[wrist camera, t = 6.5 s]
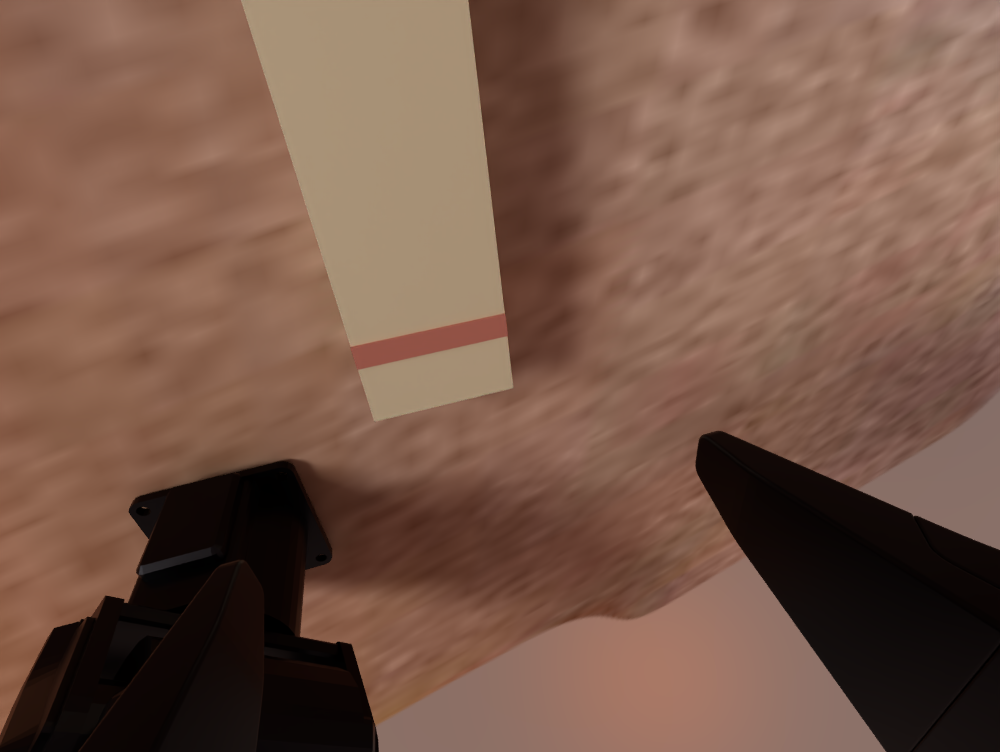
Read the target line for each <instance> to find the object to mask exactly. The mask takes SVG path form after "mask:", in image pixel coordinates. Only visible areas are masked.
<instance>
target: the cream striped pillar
mask: <svg viewBox="0 0 1000 752" xmlns="http://www.w3.org/2000/svg"><path fill="white" fill-rule="evenodd" d="M241 2H242V5H243V8H244V11H245V14H246V17H247V21H248V24H249V27H250V30H251V33H252V36H253V40H254V43H255V46H256V49H257V52H258V55H259V59H260V62H261V65H262V68H263V71H264V74H265V77H266V81H267V84H268V87H269V90H270V93H271V96H272V100H273V103H274V106H275V109H276V112H277V115H278V119H279V122H280V125H281V128H282V131H283V134H284V138H285V141H286V144H287V147H288V150H289V153H290V156H291V160H292V163H293V166H294V169H295V172H296V175H297V179H298V182H299V185H300V188H301V191H302V194H303V198H304V201H305V204H306V207H307V210H308V213H309V217H310V220H311V223H312V226H313V229H314V232H315V235H316V239H317V242H318V245H319V248H320V251H321V254H322V258H323V261H324V264H325V267H326V270H327V273H328V277H329V280H330V283H331V286H332V289H333V292H334V296H335V299H336V302H337V305H338V308H339V311H340V315H341V318H342V321H343V324H344V327H345V330H346V333H347V337H348V340H349V343H350V346H351V351H352V354H353V357H354V360H355V363H356V366H357V370H358V371H359V375H360V378H361V381H362V384H363V387H364V390H365V394H366V397H367V400H368V403H369V406H370V409H371V412H372V416H373V419H374V422H376V421H380V420H384V419H388V418H392V417H396V416H400V415H405V414H409V413H413V412H417V411H421V410H425V409H429V408H433V407H438V406H442V405H446V404H450V403H454V402H458V401H462V400H466V399H471V398H475V397H479V396H483V395H487V394H491V393H495V392H499V391H503V390H508V389H512V388H513V381H512V372H511V363H510V355H509V346H508V338H507V336H508V332H507V323H506V315H505V312H504V303H503V295H502V286H501V277H500V269H499V260H498V252H497V243H496V234H495V226H494V217H493V209H492V200H491V191H490V183H489V174H488V166H487V157H486V148H485V140H484V131H483V123H482V114H481V105H480V97H479V88H478V80H477V71H476V62H475V54H474V45H473V37H472V28H471V19H470V11H469V2H468V0H241Z"/></svg>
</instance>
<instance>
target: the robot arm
mask: <svg viewBox="0 0 1000 752" xmlns="http://www.w3.org/2000/svg"><path fill="white" fill-rule="evenodd" d="M696 471H697V474H698V476H699V478H700V479H701V481H702V483H703V485H704V487H705V488H706V490H707V492H708V494H709V495H710V497H711V499H712V501H713V502H714V504H715V506H716V508H717V509H718V511H719V513H720V515H721V517H722V518H723V520H724V522H725V524H726V525H727V527H728V529H729V530H730V532H731V534H732V535H733V537H734V539H735V540H736V542H737V543H738V545H739V546H740V547H741V549H742V550H743V552H744V553H745V555H746V556H747V557H748V559H749V560H750V562H751V563H752V564H753V566H754V567H755V569H756V570H757V571H758V573H759V574H760V576H761V577H762V578H763V580H764V581H765V583H766V584H767V585H768V587H769V588H770V590H771V591H772V592H773V594H774V595H775V596H776V598H777V599H778V601H779V602H780V604H781V605H782V606H783V608H784V609H785V611H786V612H787V613H788V614H789V616H790V618H791V619H792V620H793V622H794V623H795V624H796V626H797V627H798V629H799V630H800V632H801V633H802V634H803V636H804V637H805V639H806V640H807V641H808V643H809V644H810V646H811V647H812V648H813V650H814V651H815V653H816V654H817V655H818V657H819V658H820V660H821V661H822V662H823V664H824V665H825V667H826V668H827V669H828V671H829V672H830V674H831V675H832V676H833V678H834V679H835V681H836V682H837V683H838V685H839V686H840V688H841V689H842V690H843V692H844V693H845V694H846V696H847V697H848V699H849V700H850V702H851V703H852V704H853V706H854V707H855V709H856V710H857V711H858V713H859V714H860V716H861V717H862V719H863V720H864V721H865V723H866V724H867V726H868V727H869V728H870V730H871V731H872V732H873V734H874V735H875V737H876V738H877V740H878V741H879V742H880V744H881V745H882V746H883V748H884V749H885V751H886V752H1000V550H998V549H996V548H993V547H991V546H988V545H985V544H983V543H980V542H978V541H975V540H973V539H971V538H968V537H966V536H963V535H961V534H958V533H956V532H954V531H951V530H949V529H947V528H944V527H942V526H939V525H937V524H935V523H932V522H930V521H928V520H925V519H923V518H921V517H918V516H914V517H913V515H912V514H911V513H909V512H907V511H905V510H902V509H900V508H898V507H895V506H893V505H891V504H889V503H886V502H884V501H881V500H879V499H877V498H875V497H872V496H870V495H868V494H866V493H863V492H861V491H859V490H856V489H854V488H852V487H849V486H847V485H845V484H843V483H840V482H838V481H836V480H833V479H831V478H829V477H826V476H824V475H822V474H820V473H817V472H815V471H813V470H810V469H808V468H806V467H803V466H801V465H799V464H797V463H794V462H792V461H790V460H787V459H785V458H783V457H780V456H778V455H776V454H774V453H771V452H769V451H767V450H764V449H762V448H760V447H757V446H755V445H753V444H751V443H748V442H746V441H744V440H741V439H739V438H737V437H734V436H732V435H730V434H728V433H725V432H723V431H715V432H711V433H707V434H704V435H702V436H701V437H700V438H699V443H698V449H697V456H696ZM279 472H285V473H287V474H285V475H281V474H278V473H279ZM142 507H147V508H149V509H144V508H142ZM129 513H130V515H131V516H132V518H133V519H134V520H135V522H136V523H137V524H138V526H139V527H140V528H141V530H142V531H143V532H144V534H145V535H146V536H147V538H148V539H149V540H148V543H147V545H146V548H145V550H144V553H143V555H142V557H141V560H140V562H139V565H138V567H137V569H136V573H137V574H138V579H137V581H136V584H135V586H134V589H133V591H132V594H131V596H130V599H129V601H128V603H124V599H121V598H116V597H111V596H105V597H104V598H103V600H102V601H101V603H100V604H99V606H98V607H97V609H96V610H95V612H94V613H93V615H92V616H91V617H86V619H81V620H80V622H76V623H72V624H68V625H64V626H60V627H56V628H54V629H53V631H52V632H51V634H50V635H49V637H48V638H47V640H46V642H45V644H44V646H43V648H42V650H41V651H40V653H39V655H38V657H37V659H36V661H35V663H34V665H33V667H32V669H31V671H30V673H29V675H28V677H27V678H26V680H25V682H24V684H23V686H22V688H21V690H20V692H19V694H18V696H17V699H16V701H15V703H14V705H13V707H12V709H11V711H10V714H9V716H8V718H7V721H6V723H5V725H4V728H3V730H2V732H1V735H0V752H379V748H378V737H377V732H376V727H375V723H374V720H373V716H372V713H371V709H370V706H369V702H368V699H367V696H366V692H365V689H364V685H363V682H362V678H361V675H360V671H359V668H358V664H357V661H356V658H355V654H354V651H353V647H352V645H351V644H348V643H343V642H337V643H336V644H335V643H330V642H324V641H319V640H314V639H309V638H304V637H300V630H301V617H302V604H303V592H304V579H305V570H306V569H310V568H314V567H317V566H321V565H324V564H327V563H328V562H330V561H331V559H332V548H331V546H330V543H329V541H328V539H327V537H326V535H325V532H324V530H323V528H322V526H321V524H320V522H319V519H318V517H317V515H316V513H315V511H314V508H313V506H312V504H311V502H310V500H309V497H308V495H307V493H306V491H305V489H304V487H303V484H302V482H301V480H300V478H299V476H298V473H297V471H296V469H295V467H294V466H293V465H292V464H291V463H289V462H285V461H281V462H276V463H272V464H268V465H263V466H259V467H255V468H251V469H247V470H243V471H239V472H235V473H230V474H226V475H222V476H218V477H214V478H210V479H206V480H202V481H197V482H193V483H189V484H185V485H181V486H177V487H173V488H171V489H167V490H162V491H158V492H154V493H150V494H146V495H142V496H139V497H137V498H135V499H134V500H133V502H132V504H131V506H130V508H129ZM321 554H323V555H321Z"/></svg>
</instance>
